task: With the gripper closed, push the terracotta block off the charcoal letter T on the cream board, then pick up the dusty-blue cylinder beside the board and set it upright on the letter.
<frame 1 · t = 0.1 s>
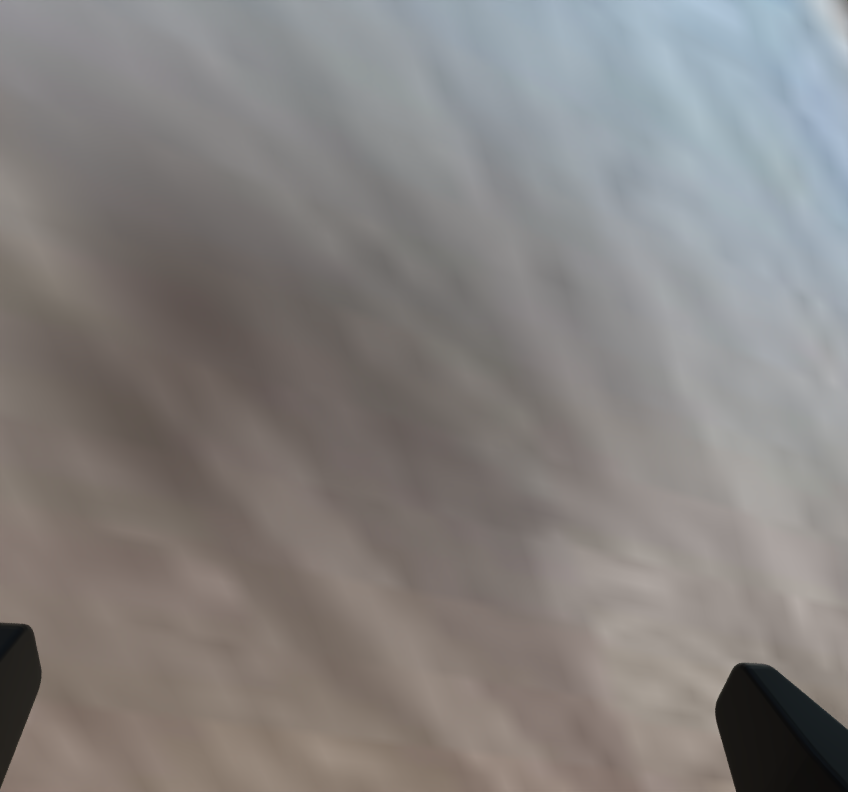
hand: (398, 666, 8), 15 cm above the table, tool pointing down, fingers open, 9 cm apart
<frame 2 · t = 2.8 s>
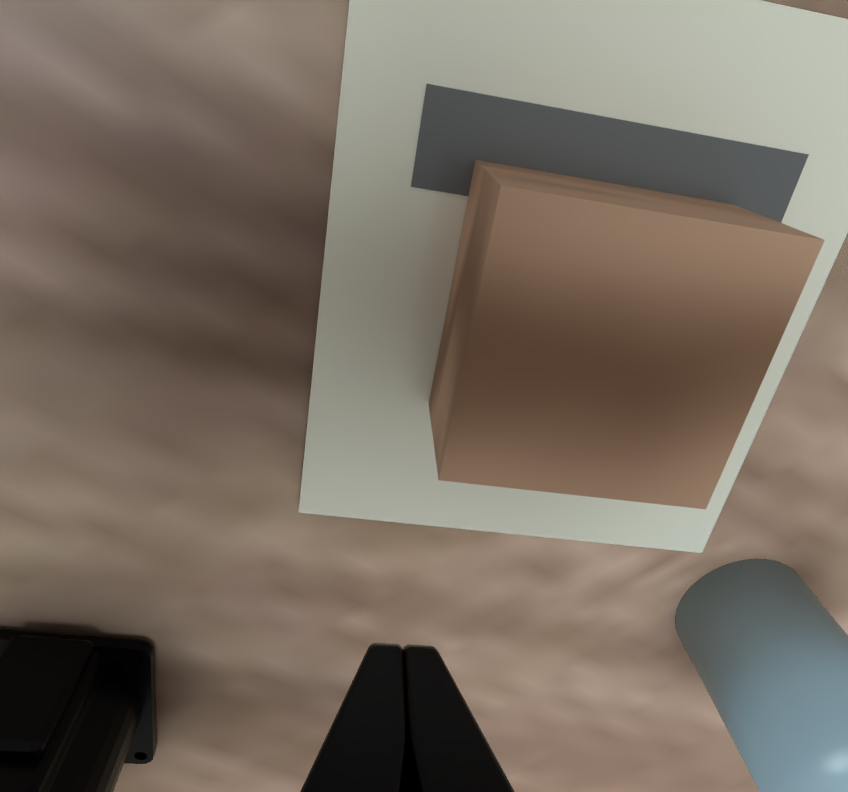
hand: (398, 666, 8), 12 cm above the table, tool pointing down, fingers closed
terracotta block: (571, 310, 18), point 1 cm above the table, touching letter board
blue cylinder: (739, 609, 25), on the table
letter board: (565, 302, 19), on the table
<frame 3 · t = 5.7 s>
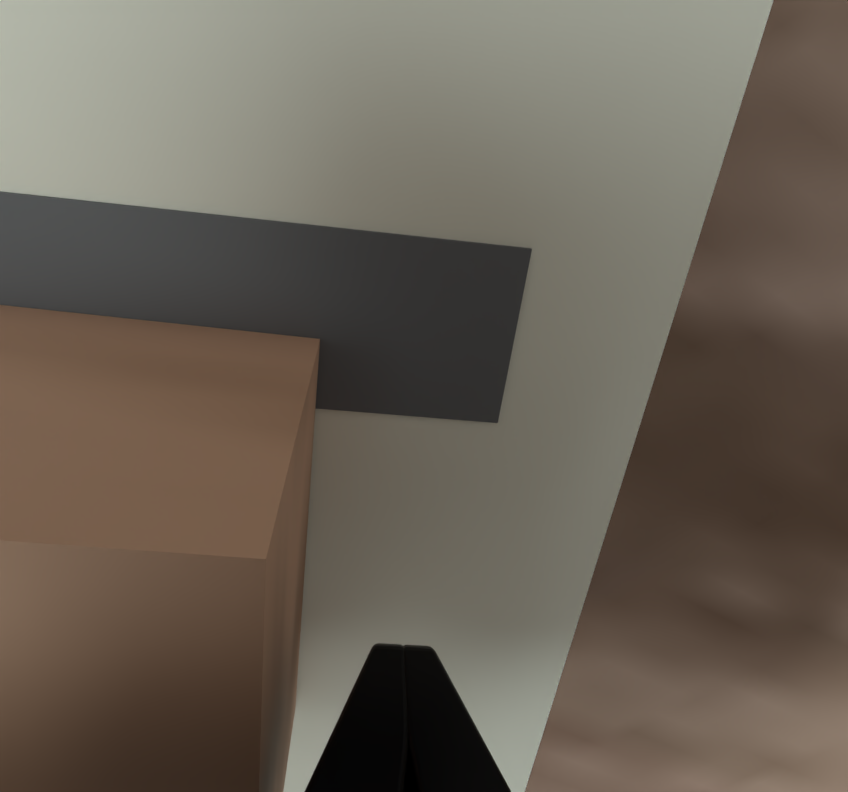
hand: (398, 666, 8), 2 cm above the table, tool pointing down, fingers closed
terracotta block: (60, 536, 9), point 1 cm above the table, touching gripper
letter board: (148, 520, 10), on the table
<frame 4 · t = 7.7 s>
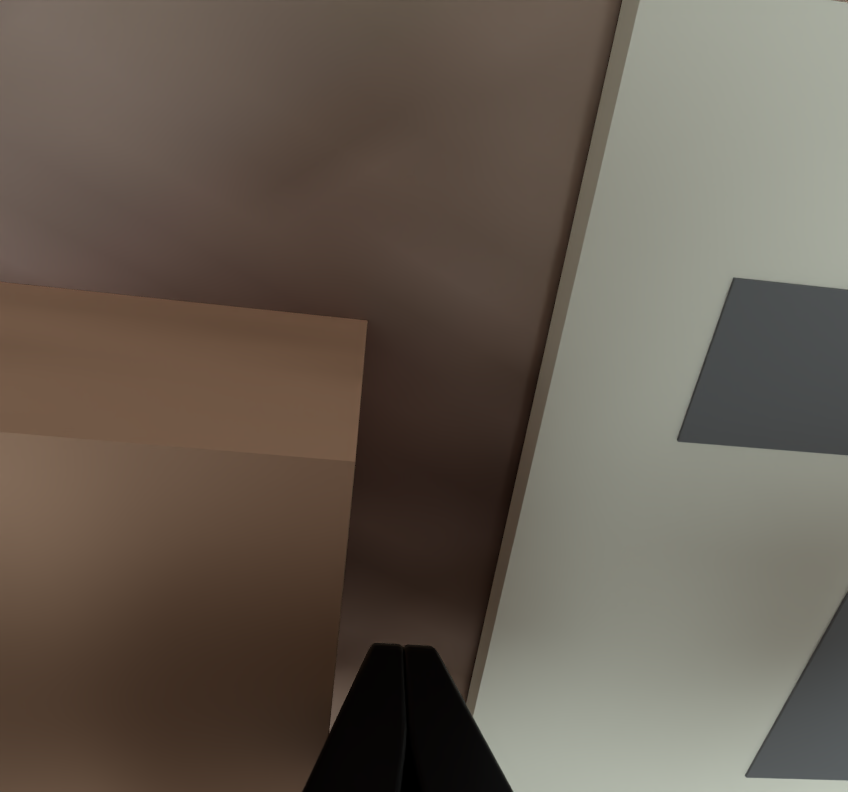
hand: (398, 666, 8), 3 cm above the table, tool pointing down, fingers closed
terracotta block: (134, 488, 11), on the table, touching gripper
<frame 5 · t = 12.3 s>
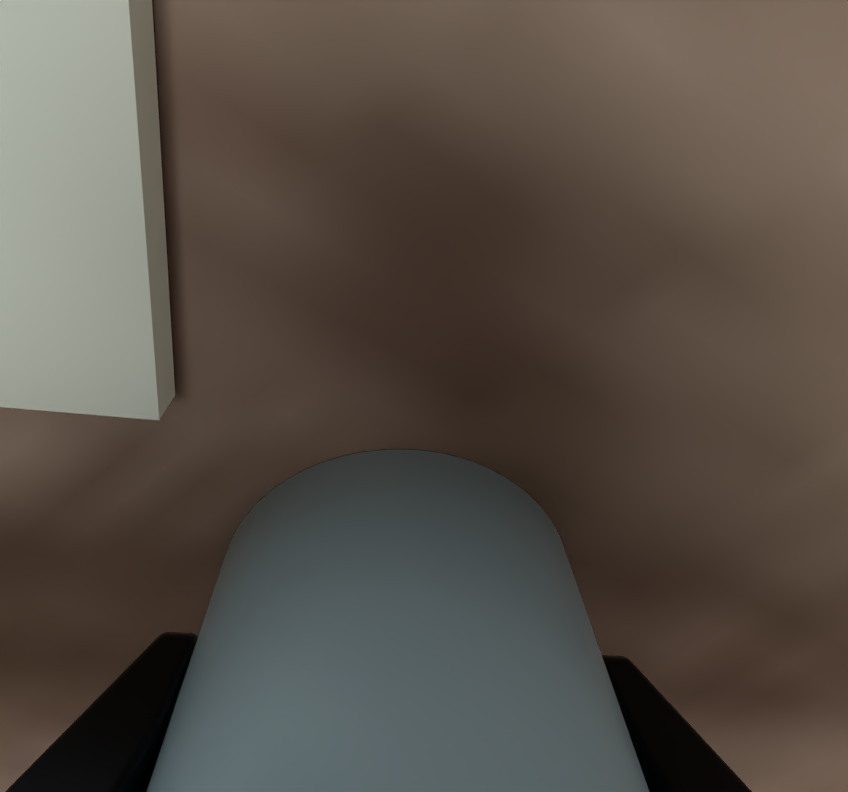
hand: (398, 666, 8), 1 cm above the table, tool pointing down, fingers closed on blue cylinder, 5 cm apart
blue cylinder: (397, 594, 9), on the table, touching gripper
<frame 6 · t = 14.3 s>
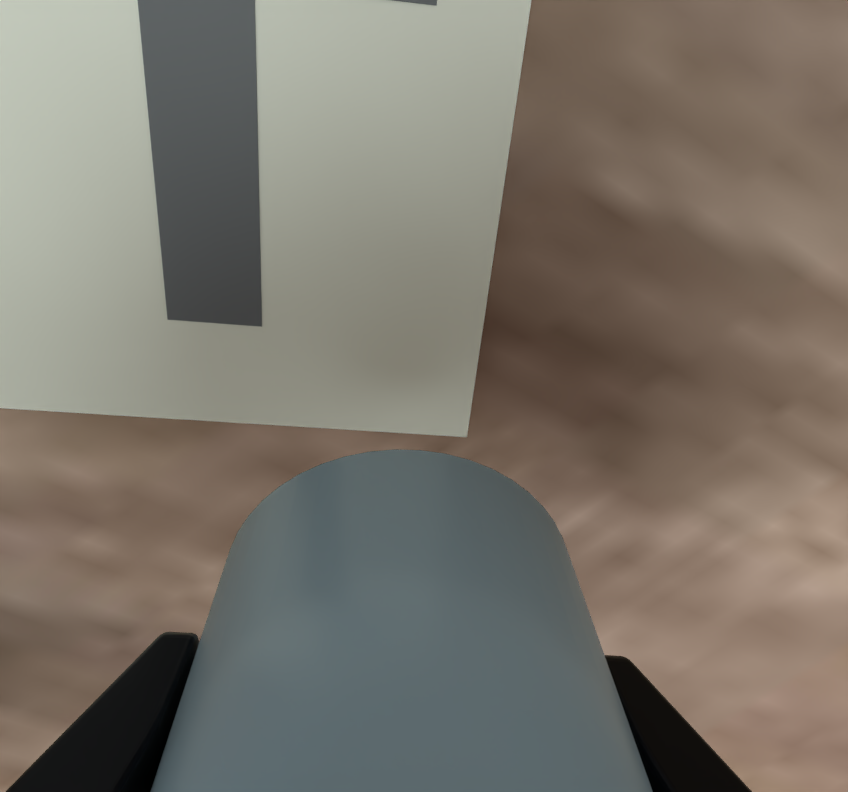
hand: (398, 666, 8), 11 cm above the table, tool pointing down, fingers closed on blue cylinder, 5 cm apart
blue cylinder: (399, 594, 9), point 10 cm above the table, touching gripper
letter board: (210, 112, 15), on the table
when the fingers open (3 cm above the table, at t = 16.6 s): blue cylinder drops 1 cm, resting on letter board.
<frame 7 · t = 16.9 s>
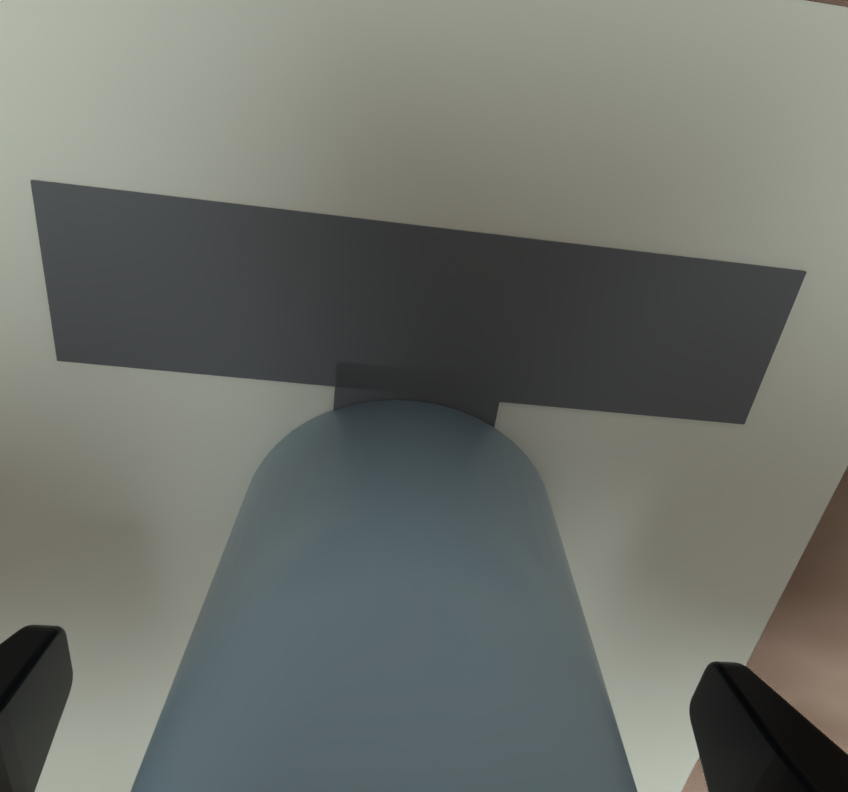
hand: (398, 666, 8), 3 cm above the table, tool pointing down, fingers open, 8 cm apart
blue cylinder: (398, 535, 10), point 1 cm above the table, touching letter board
letter board: (398, 510, 11), on the table
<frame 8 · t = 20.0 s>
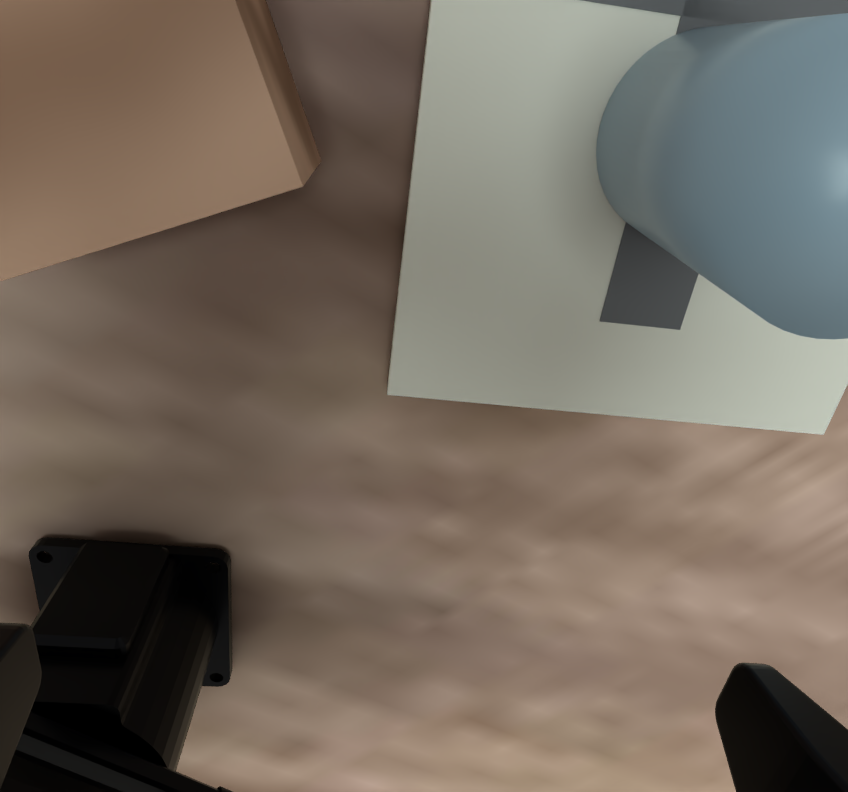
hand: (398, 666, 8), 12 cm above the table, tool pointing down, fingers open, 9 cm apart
terracotta block: (135, 57, 16), on the table
blue cylinder: (694, 140, 16), point 1 cm above the table, touching letter board
letter board: (684, 138, 17), on the table
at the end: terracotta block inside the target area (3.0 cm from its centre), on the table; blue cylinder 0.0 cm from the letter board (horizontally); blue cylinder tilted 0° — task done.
